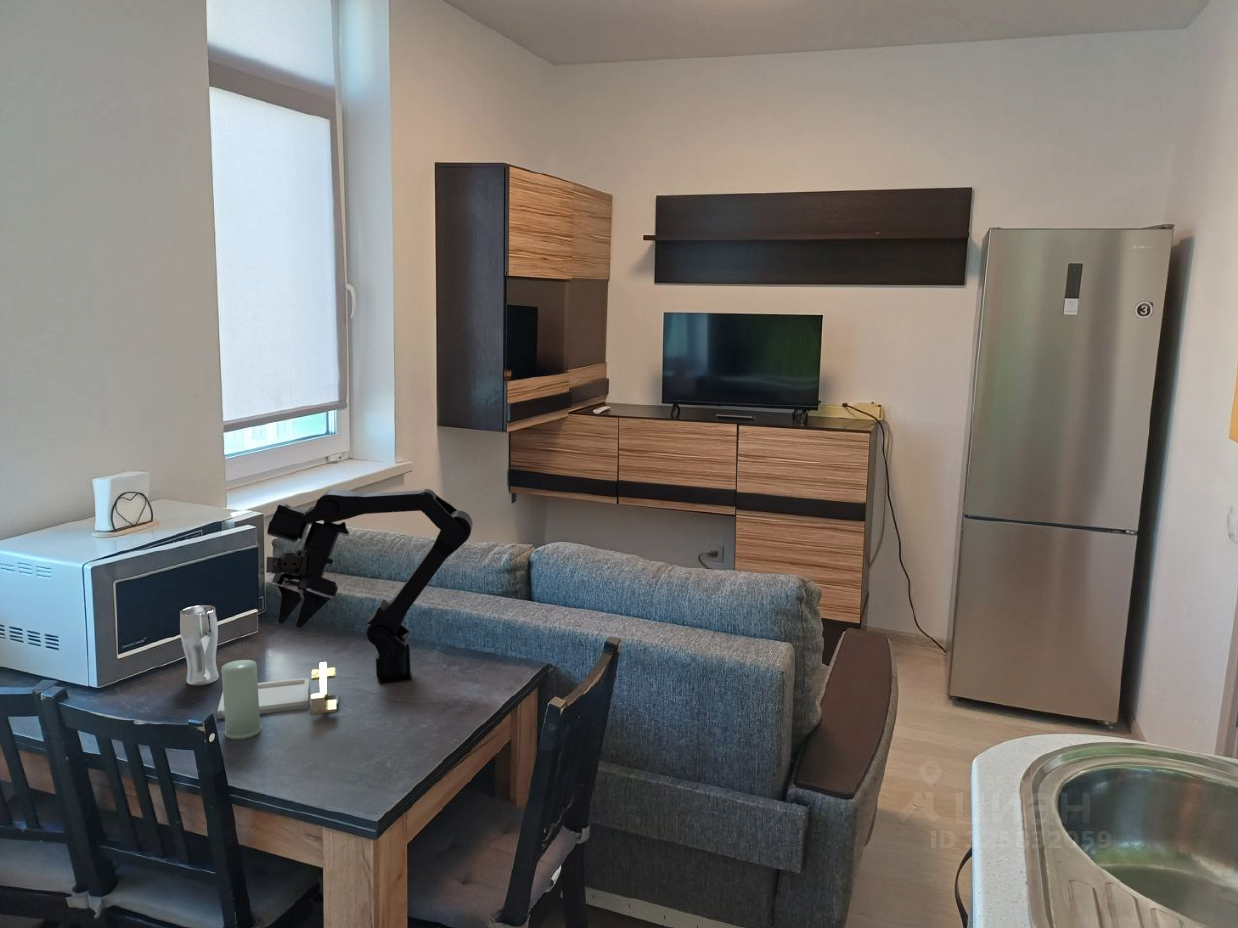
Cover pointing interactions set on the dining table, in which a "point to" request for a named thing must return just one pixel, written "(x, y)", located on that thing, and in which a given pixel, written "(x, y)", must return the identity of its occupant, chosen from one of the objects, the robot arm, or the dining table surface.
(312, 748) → the dining table surface
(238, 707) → the cup
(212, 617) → the beer glass
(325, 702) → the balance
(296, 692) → the dish
